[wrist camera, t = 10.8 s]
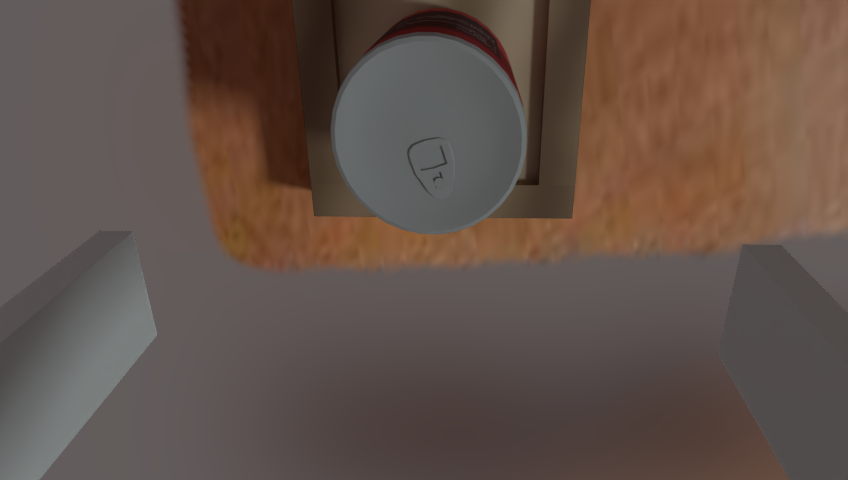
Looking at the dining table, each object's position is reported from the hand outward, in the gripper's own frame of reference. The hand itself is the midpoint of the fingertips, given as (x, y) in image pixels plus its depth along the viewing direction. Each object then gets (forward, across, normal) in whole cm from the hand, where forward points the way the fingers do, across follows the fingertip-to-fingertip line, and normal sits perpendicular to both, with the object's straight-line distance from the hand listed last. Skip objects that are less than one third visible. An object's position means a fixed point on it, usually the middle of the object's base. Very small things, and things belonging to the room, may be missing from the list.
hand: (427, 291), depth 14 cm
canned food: (+22, -1, 0) cm, 23 cm away
